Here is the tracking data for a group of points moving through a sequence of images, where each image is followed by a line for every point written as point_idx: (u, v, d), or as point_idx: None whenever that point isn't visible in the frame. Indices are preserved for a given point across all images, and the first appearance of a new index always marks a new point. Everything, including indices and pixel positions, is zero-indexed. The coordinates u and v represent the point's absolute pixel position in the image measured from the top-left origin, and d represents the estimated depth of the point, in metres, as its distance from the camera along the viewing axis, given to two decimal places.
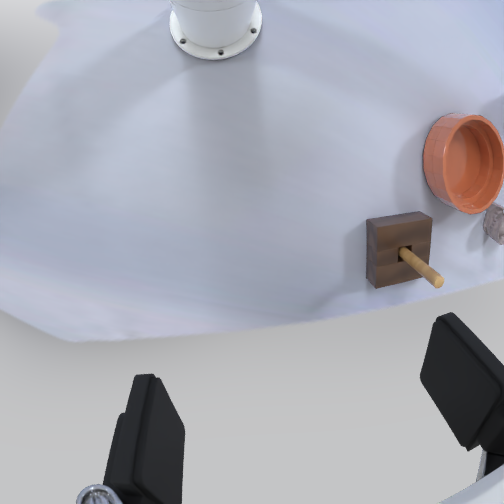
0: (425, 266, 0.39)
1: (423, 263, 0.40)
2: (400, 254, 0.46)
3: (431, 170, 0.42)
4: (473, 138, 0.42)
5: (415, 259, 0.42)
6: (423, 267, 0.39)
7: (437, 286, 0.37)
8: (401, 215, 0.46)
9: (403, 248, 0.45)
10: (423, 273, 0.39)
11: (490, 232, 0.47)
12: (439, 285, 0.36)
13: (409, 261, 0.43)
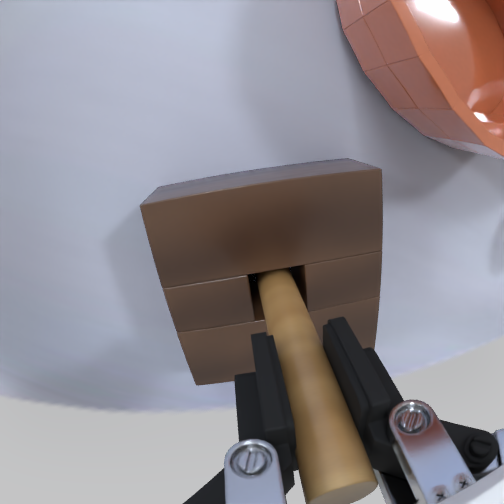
0: (304, 387, 0.08)
1: (304, 361, 0.09)
2: (260, 296, 0.15)
3: (358, 15, 0.11)
4: None
5: (283, 332, 0.11)
6: (294, 387, 0.08)
7: None
8: (276, 168, 0.15)
9: (272, 276, 0.14)
10: None
11: None
12: (345, 501, 0.06)
13: (268, 333, 0.12)
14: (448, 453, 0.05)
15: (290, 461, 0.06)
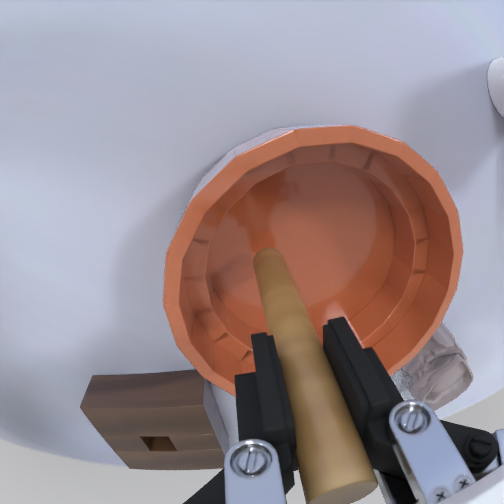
0: (304, 387, 0.08)
1: (304, 362, 0.09)
2: None
3: None
4: (369, 190, 0.19)
5: (283, 333, 0.11)
6: (294, 387, 0.08)
7: None
8: (154, 378, 0.23)
9: (272, 278, 0.14)
10: None
11: (410, 388, 0.24)
12: (345, 501, 0.06)
13: None
14: (448, 453, 0.05)
15: (290, 461, 0.06)
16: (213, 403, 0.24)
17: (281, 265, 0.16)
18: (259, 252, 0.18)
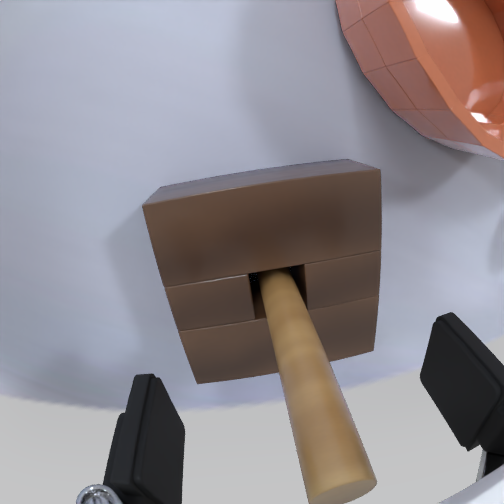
0: (306, 389, 0.08)
1: (306, 364, 0.09)
2: (263, 300, 0.15)
3: (357, 17, 0.11)
4: None
5: (286, 336, 0.11)
6: (297, 389, 0.09)
7: (332, 503, 0.06)
8: (276, 168, 0.16)
9: (274, 281, 0.15)
10: (290, 417, 0.08)
11: None
12: (345, 499, 0.06)
13: (271, 337, 0.12)
14: None
15: None
16: None
17: (283, 268, 0.16)
18: None
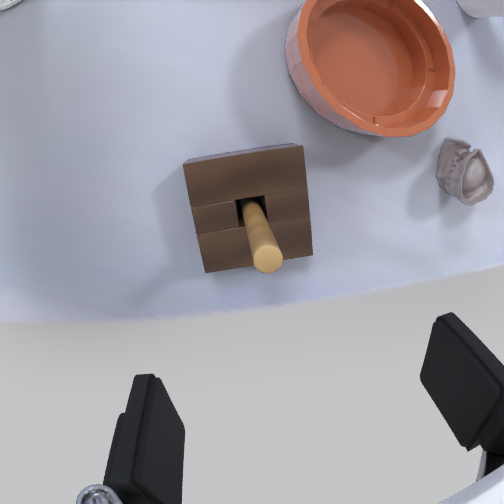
0: (256, 229, 0.22)
1: (258, 224, 0.23)
2: (243, 215, 0.28)
3: (293, 65, 0.24)
4: (392, 29, 0.24)
5: (251, 219, 0.24)
6: (252, 231, 0.22)
7: (265, 268, 0.19)
8: (251, 149, 0.29)
9: (249, 205, 0.28)
10: (249, 242, 0.22)
11: (448, 185, 0.30)
12: (270, 266, 0.19)
13: (245, 225, 0.25)
14: None
15: None
16: None
17: (255, 201, 0.29)
18: (244, 198, 0.31)
